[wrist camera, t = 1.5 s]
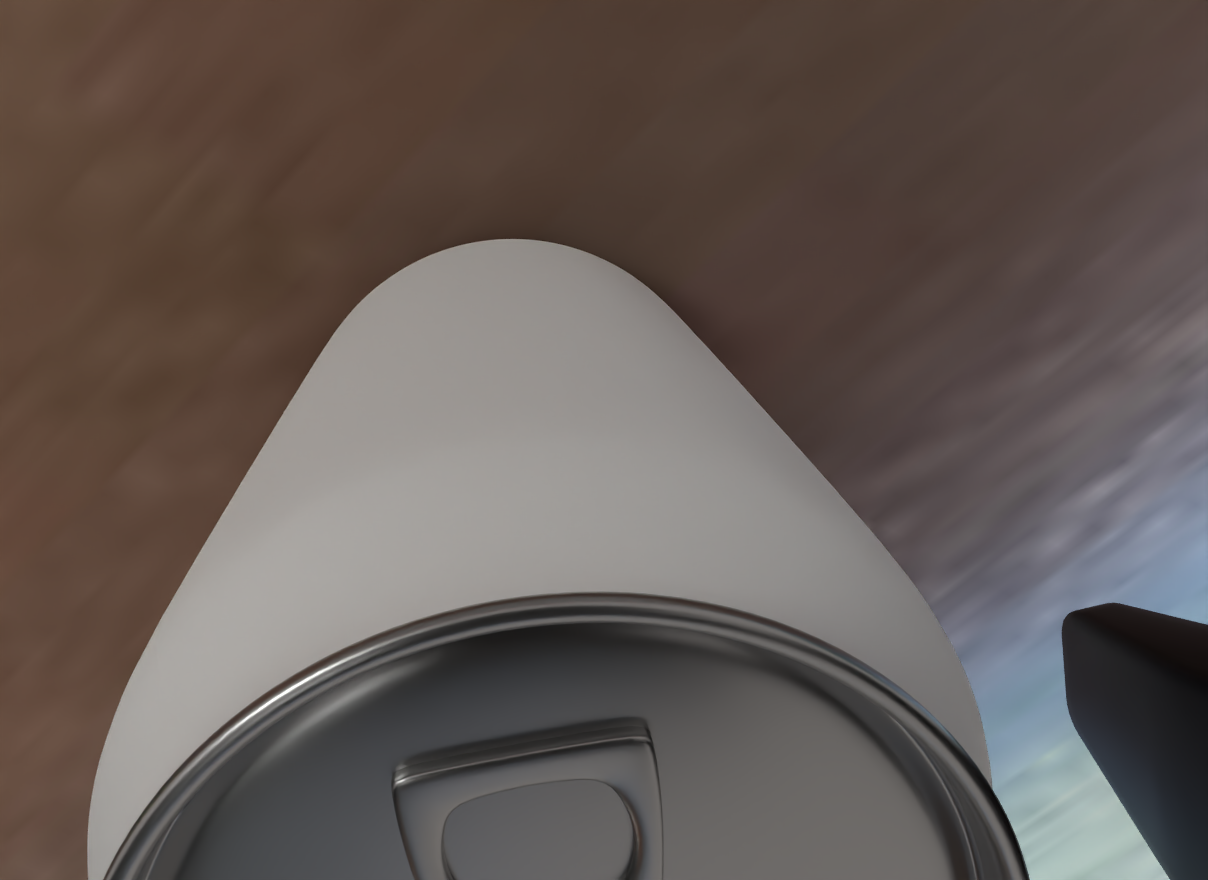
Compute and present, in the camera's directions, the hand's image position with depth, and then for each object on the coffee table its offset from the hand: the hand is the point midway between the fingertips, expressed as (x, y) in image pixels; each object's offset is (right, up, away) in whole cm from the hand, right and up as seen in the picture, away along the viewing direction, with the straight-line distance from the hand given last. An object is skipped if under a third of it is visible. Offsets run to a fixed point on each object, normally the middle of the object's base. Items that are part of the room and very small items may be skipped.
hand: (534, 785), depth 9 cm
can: (-1, +3, +9) cm, 10 cm away
